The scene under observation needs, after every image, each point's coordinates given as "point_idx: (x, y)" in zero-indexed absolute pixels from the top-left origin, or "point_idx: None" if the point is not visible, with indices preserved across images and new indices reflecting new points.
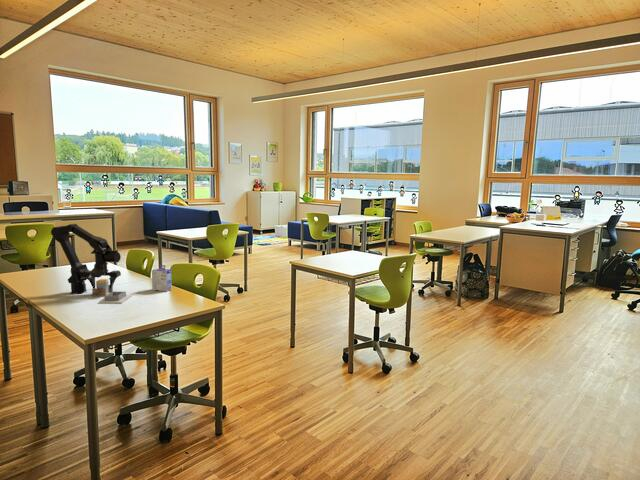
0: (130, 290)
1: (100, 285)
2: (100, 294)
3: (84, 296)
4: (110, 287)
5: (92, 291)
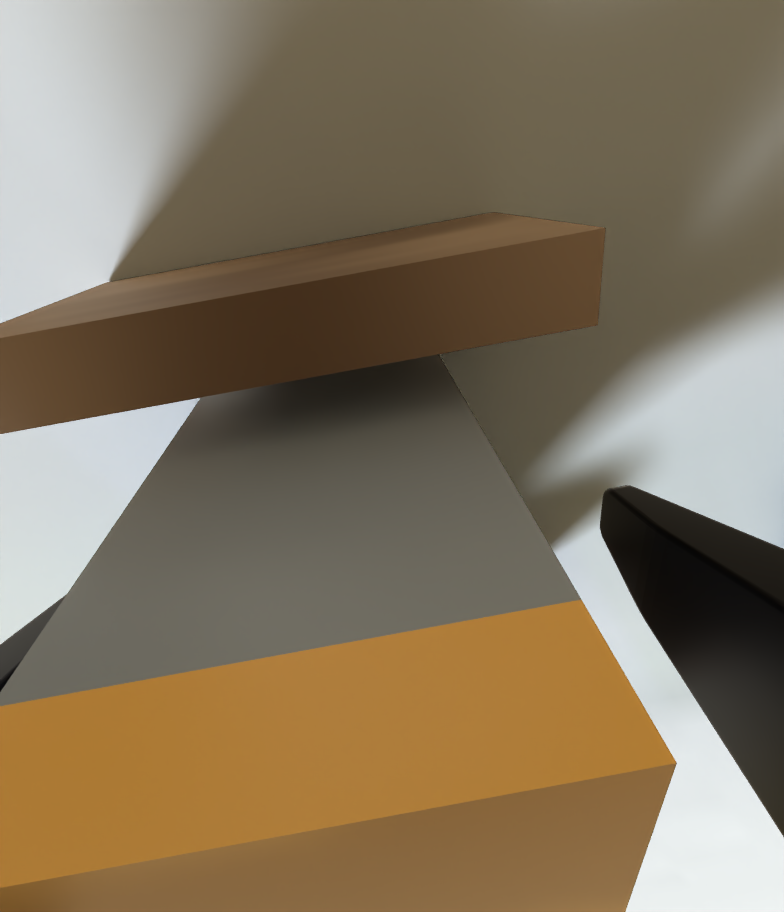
0: None
1: (270, 525)
2: (244, 261)
3: (724, 130)
4: (47, 622)
5: (544, 219)
